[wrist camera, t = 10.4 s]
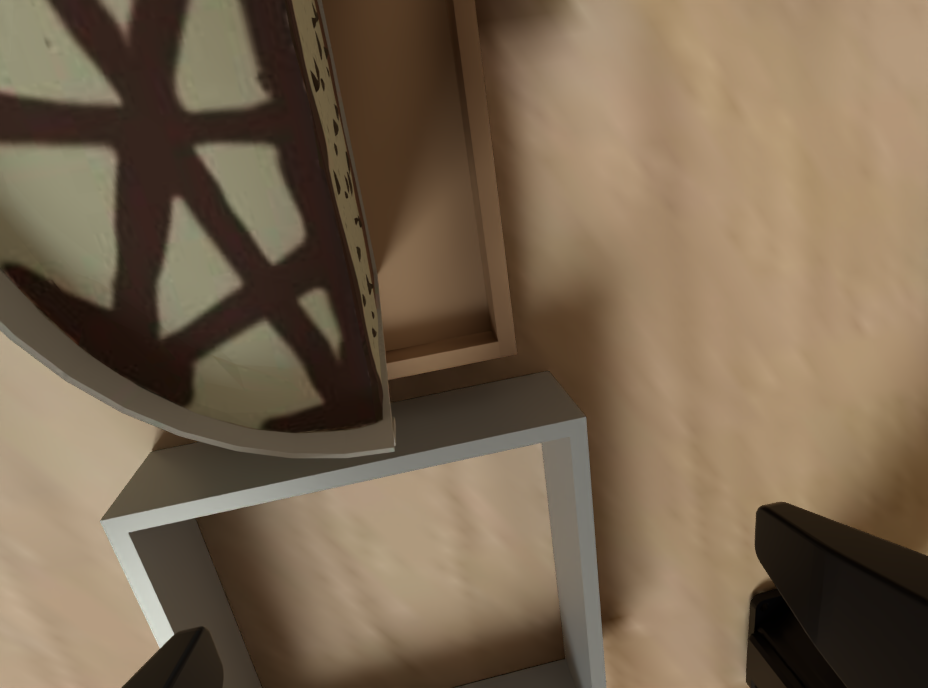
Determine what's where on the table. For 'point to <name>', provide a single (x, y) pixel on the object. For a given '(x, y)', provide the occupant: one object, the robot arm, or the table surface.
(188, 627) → the tub
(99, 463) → the table surface
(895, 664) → the robot arm
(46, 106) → the food container
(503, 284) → the tray
